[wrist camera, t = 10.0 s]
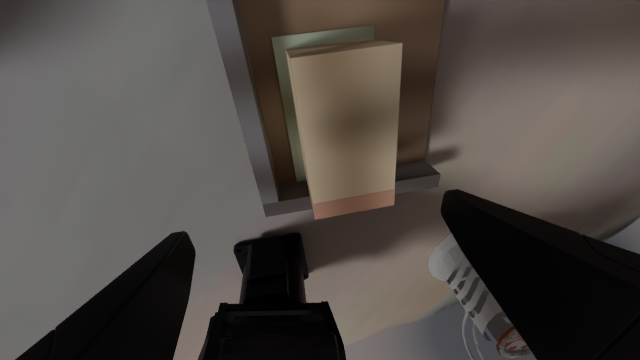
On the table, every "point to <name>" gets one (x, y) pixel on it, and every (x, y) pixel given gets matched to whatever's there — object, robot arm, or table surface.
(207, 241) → the table surface
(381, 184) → the maple block
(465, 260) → the french press
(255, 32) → the tray
